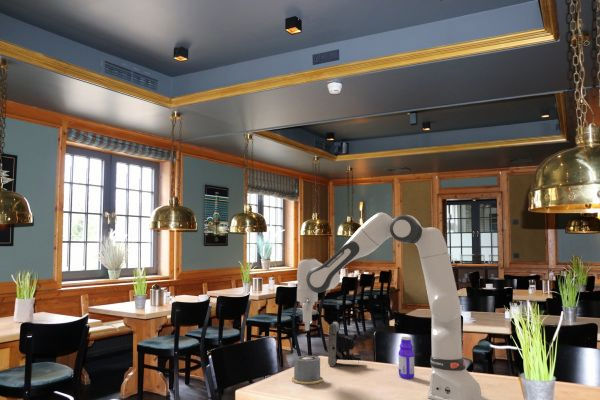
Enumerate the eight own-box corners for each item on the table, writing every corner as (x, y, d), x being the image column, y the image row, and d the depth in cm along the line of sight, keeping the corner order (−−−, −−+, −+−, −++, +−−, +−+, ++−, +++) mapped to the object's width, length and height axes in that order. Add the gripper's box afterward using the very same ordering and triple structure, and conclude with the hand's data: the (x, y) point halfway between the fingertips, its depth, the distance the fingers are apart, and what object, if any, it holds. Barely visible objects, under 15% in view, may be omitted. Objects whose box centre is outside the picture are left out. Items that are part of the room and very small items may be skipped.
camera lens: (317, 368, 217) (317, 359, 217) (304, 370, 214) (304, 360, 214) (309, 365, 222) (309, 356, 222) (297, 367, 219) (297, 357, 220)
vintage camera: (360, 369, 240) (361, 325, 241) (327, 366, 243) (328, 323, 245) (362, 364, 249) (363, 322, 251) (330, 362, 252) (331, 320, 254)
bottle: (417, 378, 221) (416, 337, 222) (405, 380, 219) (405, 337, 220) (407, 374, 227) (406, 334, 229) (396, 376, 225) (395, 335, 227)
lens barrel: (328, 382, 215) (328, 359, 216) (301, 386, 209) (301, 363, 210) (312, 375, 226) (312, 354, 227) (286, 378, 220) (286, 357, 221)
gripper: (315, 299, 210) (315, 334, 209) (314, 294, 231) (314, 326, 229) (299, 299, 210) (299, 334, 209) (300, 294, 231) (300, 326, 230)
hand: (307, 330), depth 219 cm, fingers closed
